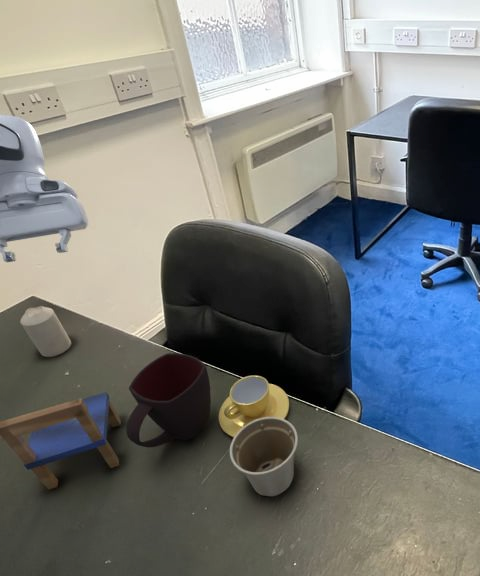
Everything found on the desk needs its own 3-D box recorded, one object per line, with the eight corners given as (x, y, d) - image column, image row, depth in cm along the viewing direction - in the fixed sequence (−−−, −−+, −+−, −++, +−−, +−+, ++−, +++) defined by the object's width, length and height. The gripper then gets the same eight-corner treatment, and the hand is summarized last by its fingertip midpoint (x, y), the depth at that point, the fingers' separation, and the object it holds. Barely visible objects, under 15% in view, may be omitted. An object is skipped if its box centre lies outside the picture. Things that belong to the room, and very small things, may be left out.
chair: (55, 439, 73) (10, 377, 64) (122, 418, 77) (87, 357, 68) (46, 491, 66) (-7, 429, 57) (120, 466, 69) (80, 403, 60)
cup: (263, 374, 84) (257, 354, 81) (303, 408, 77) (299, 387, 74) (205, 413, 77) (197, 392, 73) (244, 453, 70) (237, 433, 67)
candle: (34, 353, 90) (9, 315, 84) (59, 336, 94) (37, 299, 88) (52, 360, 88) (28, 322, 82) (77, 342, 92) (56, 305, 87)
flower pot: (269, 441, 72) (260, 407, 67) (316, 465, 69) (310, 431, 64) (228, 489, 66) (214, 456, 61) (278, 519, 62) (268, 486, 57)
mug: (231, 411, 77) (214, 362, 70) (174, 480, 67) (148, 431, 60) (186, 395, 80) (166, 347, 73) (125, 459, 70) (95, 410, 63)
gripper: (-45, 196, 87) (-34, 263, 85) (72, 180, 92) (84, 243, 91) (-25, 207, 93) (-14, 270, 91) (84, 191, 98) (96, 250, 97)
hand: (36, 256), depth 91 cm, fingers open, 8 cm apart
